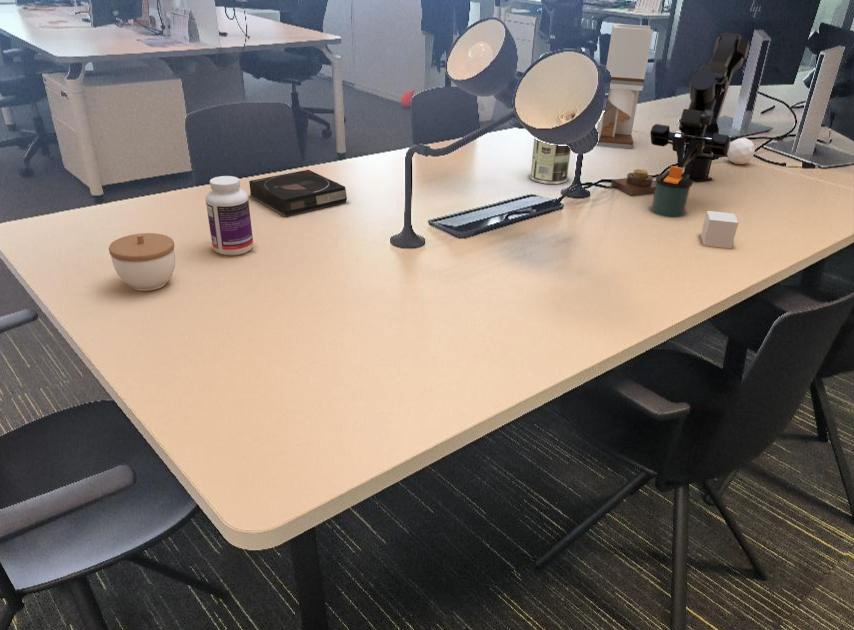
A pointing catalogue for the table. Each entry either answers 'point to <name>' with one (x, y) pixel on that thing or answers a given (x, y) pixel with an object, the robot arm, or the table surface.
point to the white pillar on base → (624, 83)
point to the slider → (674, 175)
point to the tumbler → (671, 196)
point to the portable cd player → (297, 192)
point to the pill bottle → (229, 216)
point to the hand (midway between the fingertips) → (678, 169)
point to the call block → (635, 185)
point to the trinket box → (144, 260)
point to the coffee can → (549, 163)
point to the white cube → (719, 229)
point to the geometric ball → (741, 151)
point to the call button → (640, 173)
